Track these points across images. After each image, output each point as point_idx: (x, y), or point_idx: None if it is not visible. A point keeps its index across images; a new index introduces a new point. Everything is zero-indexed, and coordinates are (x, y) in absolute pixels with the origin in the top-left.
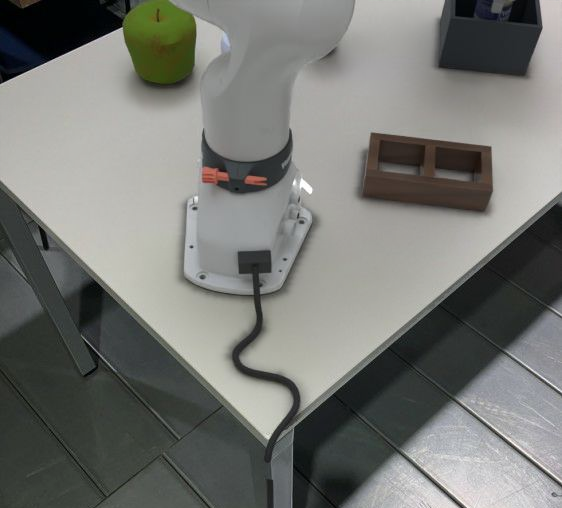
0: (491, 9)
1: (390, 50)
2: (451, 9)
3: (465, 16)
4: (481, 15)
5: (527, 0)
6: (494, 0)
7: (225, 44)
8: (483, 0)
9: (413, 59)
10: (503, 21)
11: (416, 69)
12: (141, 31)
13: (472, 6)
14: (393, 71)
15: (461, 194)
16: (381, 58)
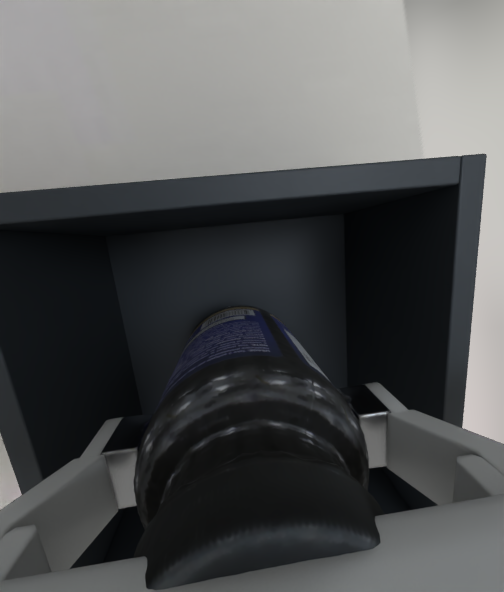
0: (103, 425)
1: (127, 42)
2: (34, 195)
3: (351, 276)
4: (182, 354)
5: (384, 481)
6: (54, 475)
7: None
8: (178, 375)
9: (105, 136)
10: (38, 483)
11: (51, 154)
12: None
13: (368, 295)
14: (3, 69)
15: None
16: (64, 10)
